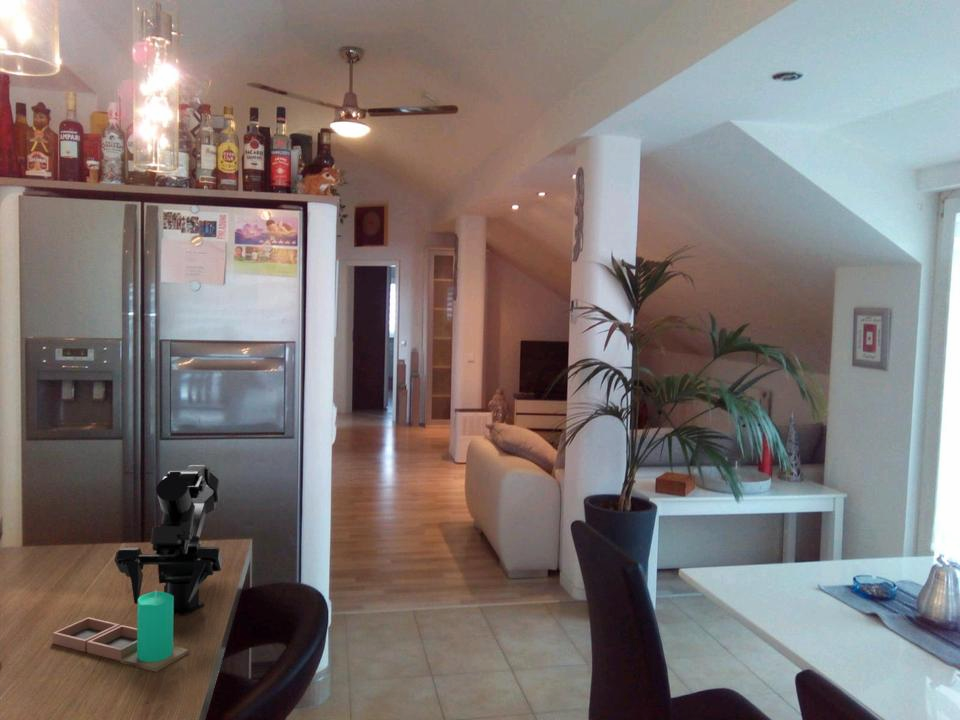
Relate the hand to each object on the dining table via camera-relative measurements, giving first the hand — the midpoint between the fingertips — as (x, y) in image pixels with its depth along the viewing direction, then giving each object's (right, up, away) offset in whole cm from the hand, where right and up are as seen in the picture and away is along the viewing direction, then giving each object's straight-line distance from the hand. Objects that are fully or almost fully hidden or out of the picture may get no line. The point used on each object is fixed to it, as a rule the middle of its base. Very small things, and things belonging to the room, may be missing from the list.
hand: (161, 602), depth 138 cm
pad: (0, -9, -4) cm, 10 cm away
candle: (0, -8, -4) cm, 9 cm away
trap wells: (-11, -8, +1) cm, 14 cm away
